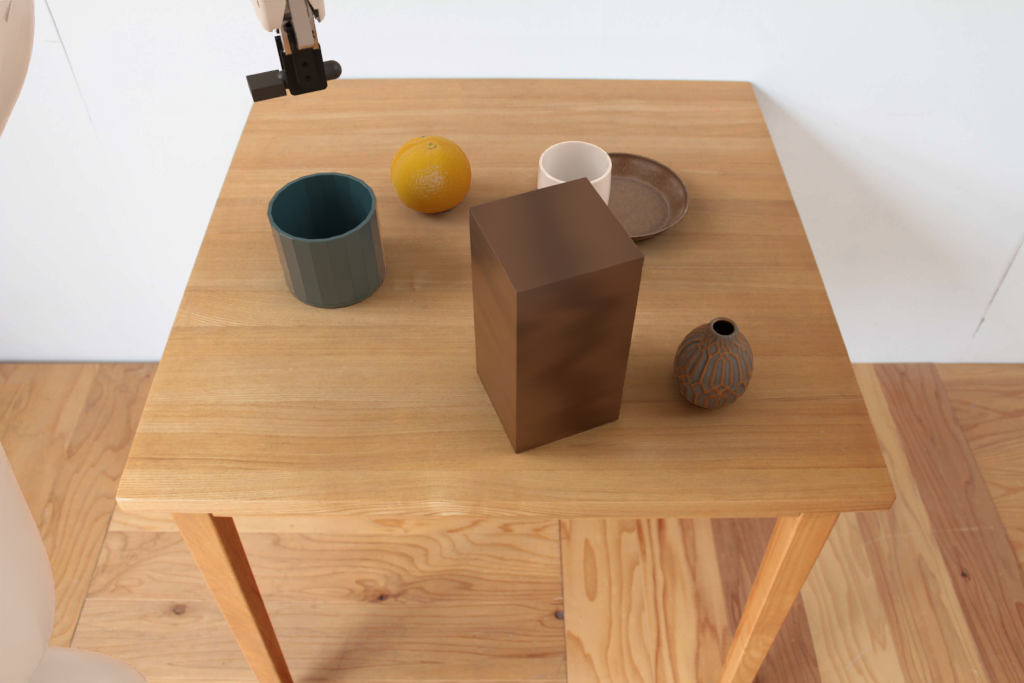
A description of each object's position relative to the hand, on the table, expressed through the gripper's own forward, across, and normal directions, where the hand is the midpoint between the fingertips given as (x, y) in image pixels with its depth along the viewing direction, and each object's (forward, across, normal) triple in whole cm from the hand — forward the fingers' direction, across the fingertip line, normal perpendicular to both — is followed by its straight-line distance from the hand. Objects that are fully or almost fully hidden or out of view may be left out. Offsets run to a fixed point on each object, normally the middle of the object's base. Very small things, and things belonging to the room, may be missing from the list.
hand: (305, 82), depth 73 cm
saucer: (+22, +2, +31) cm, 38 cm away
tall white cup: (+22, +10, +21) cm, 32 cm away
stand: (+22, +23, +13) cm, 35 cm away
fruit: (+22, -7, +12) cm, 26 cm away
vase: (+22, +28, +27) cm, 45 cm away
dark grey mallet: (0, 0, -1) cm, 1 cm away
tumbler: (+22, 0, -1) cm, 22 cm away
